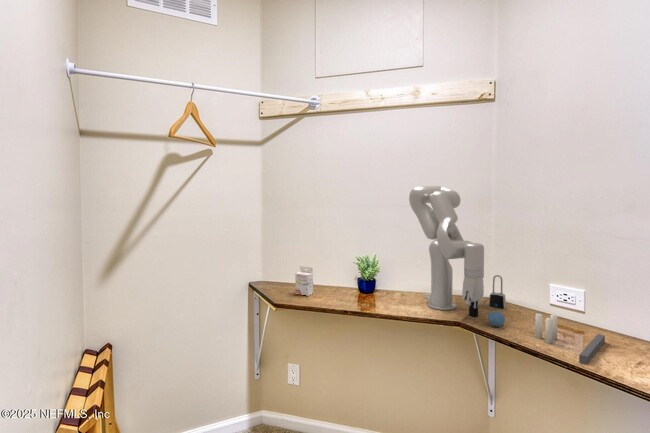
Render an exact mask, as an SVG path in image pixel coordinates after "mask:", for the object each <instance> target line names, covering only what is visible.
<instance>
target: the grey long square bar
mask: <svg viewBox="0 0 650 433" xmlns="http://www.w3.org/2000/svg"><path fill="white" fill-rule="evenodd" d="M605 340H606V335H605V334H600V333H597V334H596V335H595V336H594V338H592V339H591V341H590V342H589V343H588V344H587V346H585V347H584V349H583V350H582V351H581V352H580V353H579V356H578V362H579V364H583V365H588V364H589V363H590V362H591V360H592V359H593V358H594V357H595V356H596V354H597V353H598V352H599V351H600V349H601V348H602V347H603V345H604V344H605V343H606V341H605Z"/></svg>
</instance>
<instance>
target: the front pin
mask: <svg viewBox="0 0 650 433" xmlns="http://www.w3.org/2000/svg"><path fill="white" fill-rule="evenodd" d="M543 315H544V314H542V313H535V317H534V318H535V319H534V320H535V324H534V325H535V326H534V337H535V338H536V339H539V340H540V339H543V321H544V320H543V317H544V316H543Z"/></svg>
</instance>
